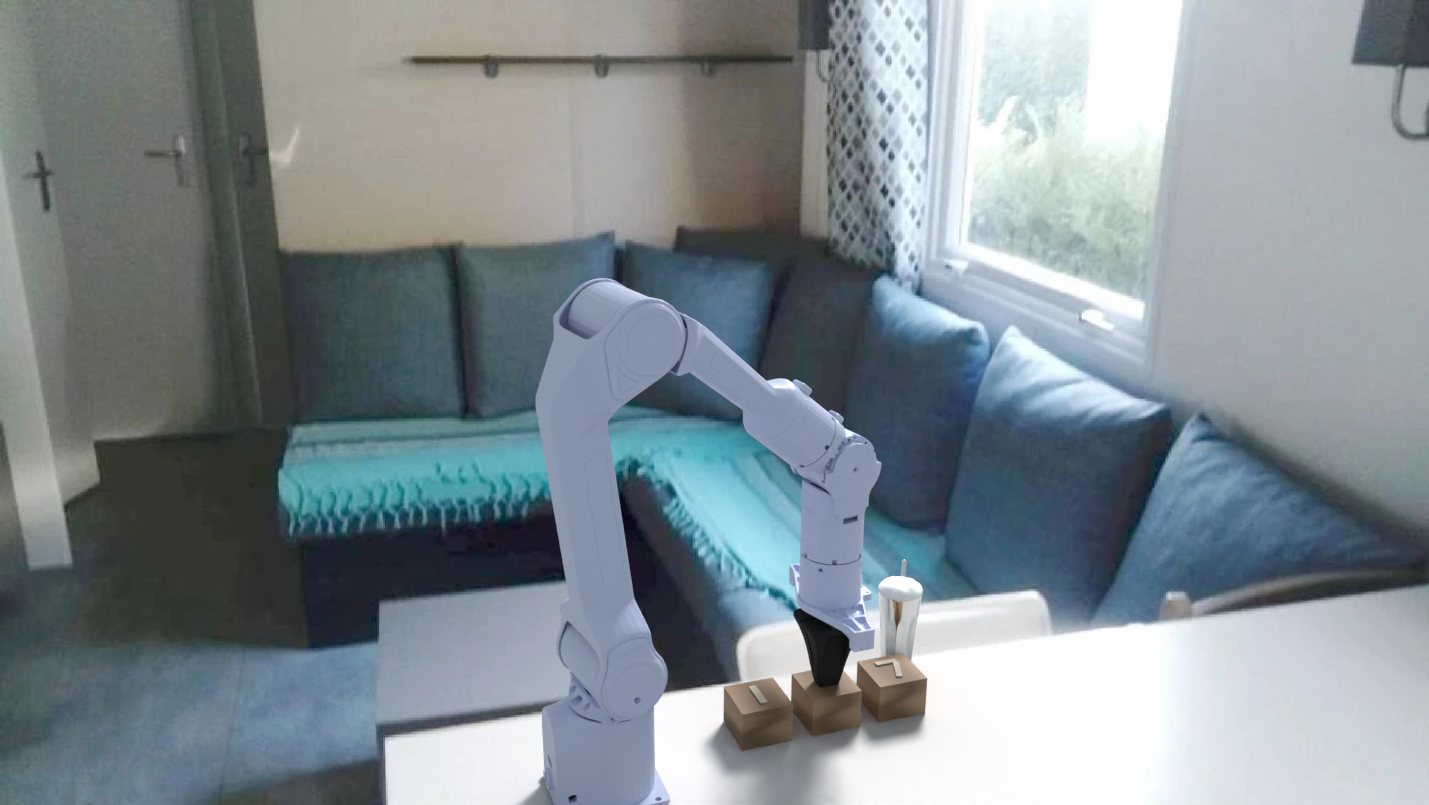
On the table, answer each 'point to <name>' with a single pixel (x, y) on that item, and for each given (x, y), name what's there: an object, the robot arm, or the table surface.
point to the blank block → (826, 704)
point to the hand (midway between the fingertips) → (826, 682)
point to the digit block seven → (891, 687)
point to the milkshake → (898, 613)
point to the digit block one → (758, 714)
